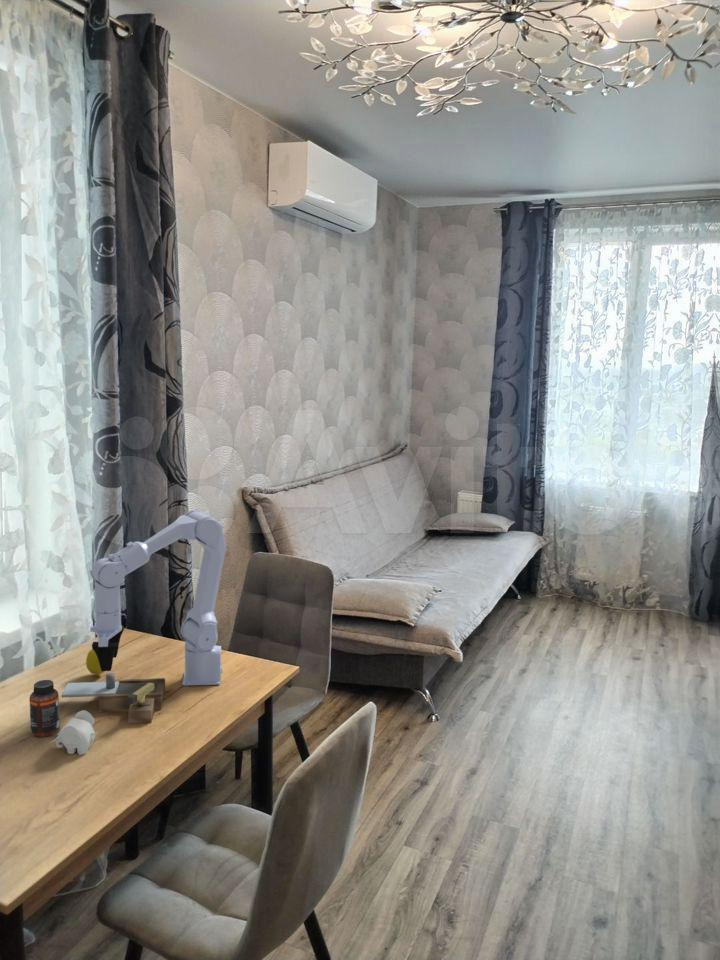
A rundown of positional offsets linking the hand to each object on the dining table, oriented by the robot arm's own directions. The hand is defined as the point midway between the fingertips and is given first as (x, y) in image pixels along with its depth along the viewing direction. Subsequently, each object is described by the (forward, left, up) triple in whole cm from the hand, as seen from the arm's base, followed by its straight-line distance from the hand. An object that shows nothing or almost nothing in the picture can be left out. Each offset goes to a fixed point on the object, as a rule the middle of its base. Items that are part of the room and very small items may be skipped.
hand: (109, 663), depth 175 cm
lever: (-8, +9, -6) cm, 14 cm away
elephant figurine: (+4, +21, -10) cm, 24 cm away
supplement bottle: (+12, +13, -10) cm, 20 cm away
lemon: (+6, -15, -10) cm, 19 cm away
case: (-6, +3, -10) cm, 12 cm away
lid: (+4, 0, -7) cm, 8 cm away
